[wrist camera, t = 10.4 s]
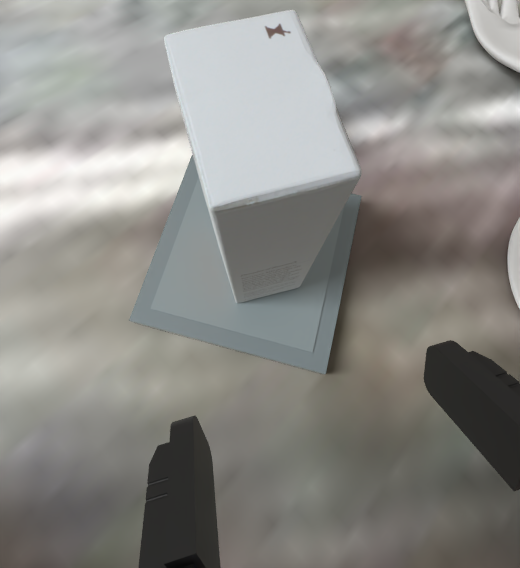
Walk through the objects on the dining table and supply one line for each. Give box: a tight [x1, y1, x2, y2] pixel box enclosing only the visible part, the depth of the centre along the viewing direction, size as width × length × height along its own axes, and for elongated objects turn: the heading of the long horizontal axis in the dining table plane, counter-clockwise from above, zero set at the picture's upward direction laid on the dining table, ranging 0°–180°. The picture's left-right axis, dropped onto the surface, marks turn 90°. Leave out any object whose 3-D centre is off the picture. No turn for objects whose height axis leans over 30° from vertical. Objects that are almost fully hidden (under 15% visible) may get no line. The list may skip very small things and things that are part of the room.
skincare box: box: [164, 10, 361, 303], centre depth 14 cm, size 6×4×12 cm
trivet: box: [129, 155, 361, 374], centre depth 21 cm, size 12×12×1 cm
